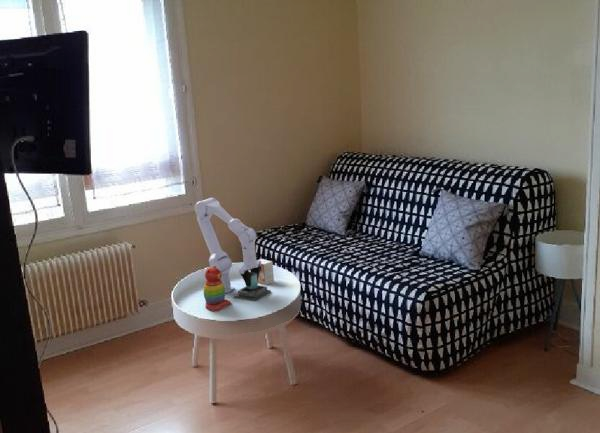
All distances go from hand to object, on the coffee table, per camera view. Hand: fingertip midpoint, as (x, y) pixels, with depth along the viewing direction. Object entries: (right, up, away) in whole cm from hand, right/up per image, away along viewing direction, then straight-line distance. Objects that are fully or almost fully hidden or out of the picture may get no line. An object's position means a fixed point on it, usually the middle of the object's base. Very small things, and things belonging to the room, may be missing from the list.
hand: (251, 284), depth 275 cm
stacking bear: (-15, -9, -9) cm, 20 cm away
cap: (0, -1, 0) cm, 1 cm away
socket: (0, -5, +1) cm, 5 cm away
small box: (+5, -1, +18) cm, 19 cm away
